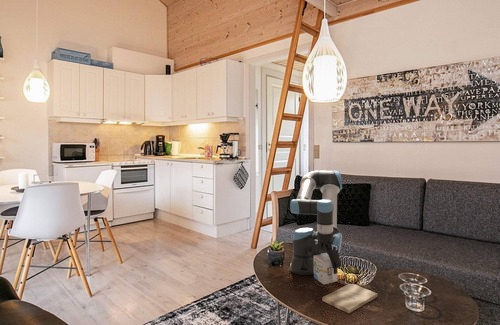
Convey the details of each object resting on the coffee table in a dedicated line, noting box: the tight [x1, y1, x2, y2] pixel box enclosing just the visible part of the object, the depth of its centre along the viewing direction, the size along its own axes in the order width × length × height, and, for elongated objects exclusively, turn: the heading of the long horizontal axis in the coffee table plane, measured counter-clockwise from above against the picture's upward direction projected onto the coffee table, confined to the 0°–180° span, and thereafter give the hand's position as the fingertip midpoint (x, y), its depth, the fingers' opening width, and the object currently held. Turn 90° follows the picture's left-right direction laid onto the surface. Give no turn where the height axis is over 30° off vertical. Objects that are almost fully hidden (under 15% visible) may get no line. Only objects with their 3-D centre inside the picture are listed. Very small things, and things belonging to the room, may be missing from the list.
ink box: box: [313, 253, 338, 285], centre depth 153 cm, size 8×8×12 cm
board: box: [321, 283, 378, 314], centre depth 141 cm, size 14×22×2 cm, turn 127°
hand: (325, 275), depth 153 cm, fingers closed on ink box, 9 cm apart
